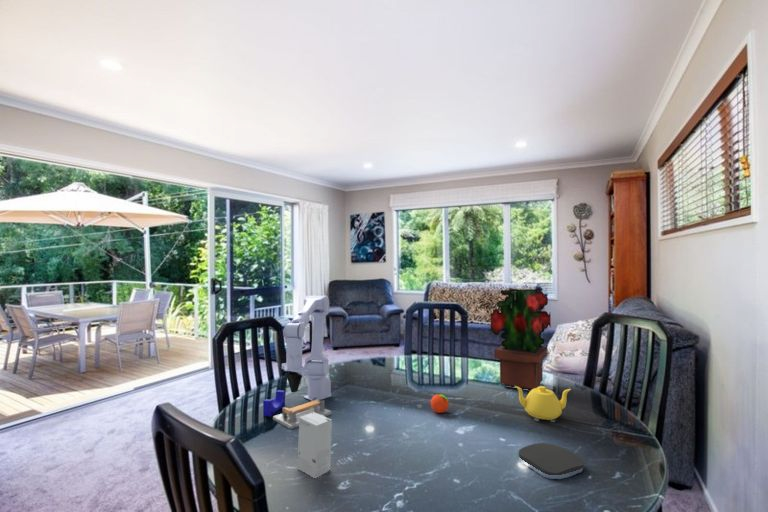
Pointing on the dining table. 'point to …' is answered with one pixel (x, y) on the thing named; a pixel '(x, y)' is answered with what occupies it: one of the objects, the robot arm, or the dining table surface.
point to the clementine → (439, 403)
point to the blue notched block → (274, 403)
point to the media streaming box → (551, 458)
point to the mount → (293, 418)
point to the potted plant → (521, 337)
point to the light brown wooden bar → (302, 406)
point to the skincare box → (314, 444)
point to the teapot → (543, 403)
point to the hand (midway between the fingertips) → (294, 391)
